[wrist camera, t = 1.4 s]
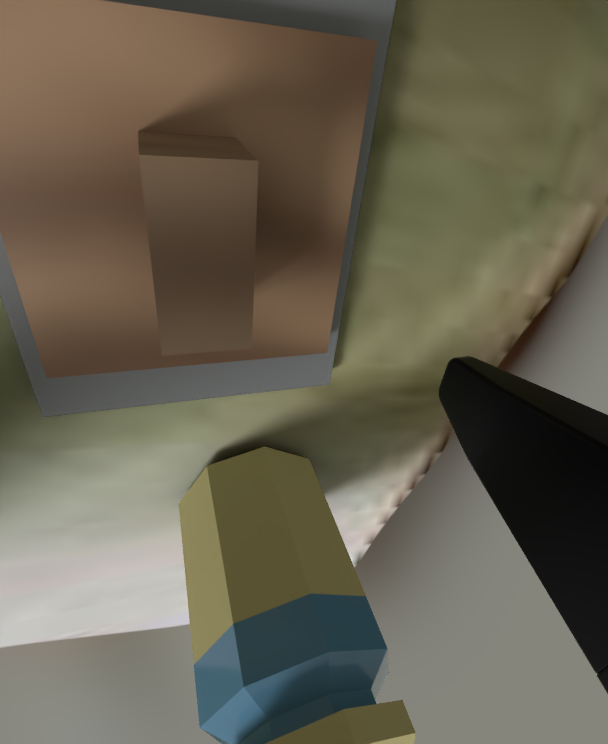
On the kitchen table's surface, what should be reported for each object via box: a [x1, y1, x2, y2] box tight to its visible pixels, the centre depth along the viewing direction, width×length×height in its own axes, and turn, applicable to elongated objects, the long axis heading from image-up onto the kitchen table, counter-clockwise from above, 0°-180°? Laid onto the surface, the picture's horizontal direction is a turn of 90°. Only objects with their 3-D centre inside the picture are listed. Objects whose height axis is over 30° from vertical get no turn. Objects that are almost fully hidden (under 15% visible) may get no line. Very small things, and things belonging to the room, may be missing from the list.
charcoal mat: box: [0, 0, 396, 417], centre depth 17 cm, size 18×14×1 cm
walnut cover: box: [0, 0, 377, 378], centre depth 15 cm, size 12×12×5 cm
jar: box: [179, 447, 415, 744], centre depth 23 cm, size 9×9×15 cm
